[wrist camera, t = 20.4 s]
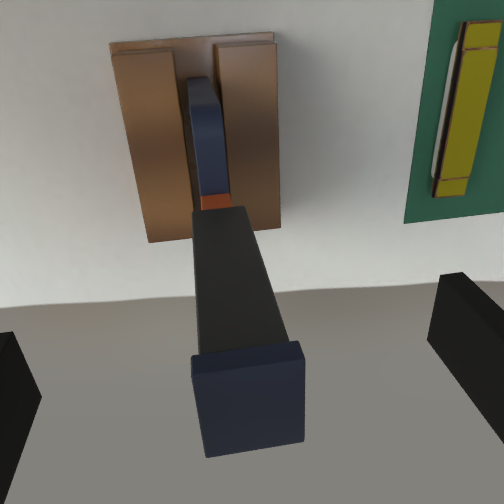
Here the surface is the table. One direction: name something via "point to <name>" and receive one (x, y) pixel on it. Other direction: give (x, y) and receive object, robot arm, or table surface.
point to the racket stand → (180, 129)
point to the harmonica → (464, 106)
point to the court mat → (436, 70)
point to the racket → (236, 312)
